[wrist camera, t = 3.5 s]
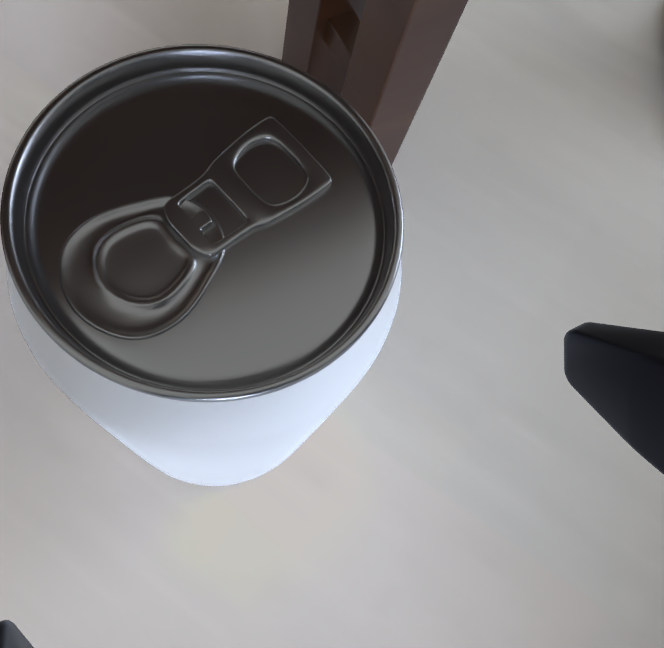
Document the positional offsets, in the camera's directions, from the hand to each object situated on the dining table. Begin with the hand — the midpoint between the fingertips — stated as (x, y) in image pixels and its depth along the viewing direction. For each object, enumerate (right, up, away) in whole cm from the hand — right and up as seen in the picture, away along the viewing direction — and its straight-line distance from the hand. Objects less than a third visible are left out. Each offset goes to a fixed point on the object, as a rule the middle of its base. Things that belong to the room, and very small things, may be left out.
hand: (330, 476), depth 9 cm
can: (-4, 0, +11) cm, 12 cm away
